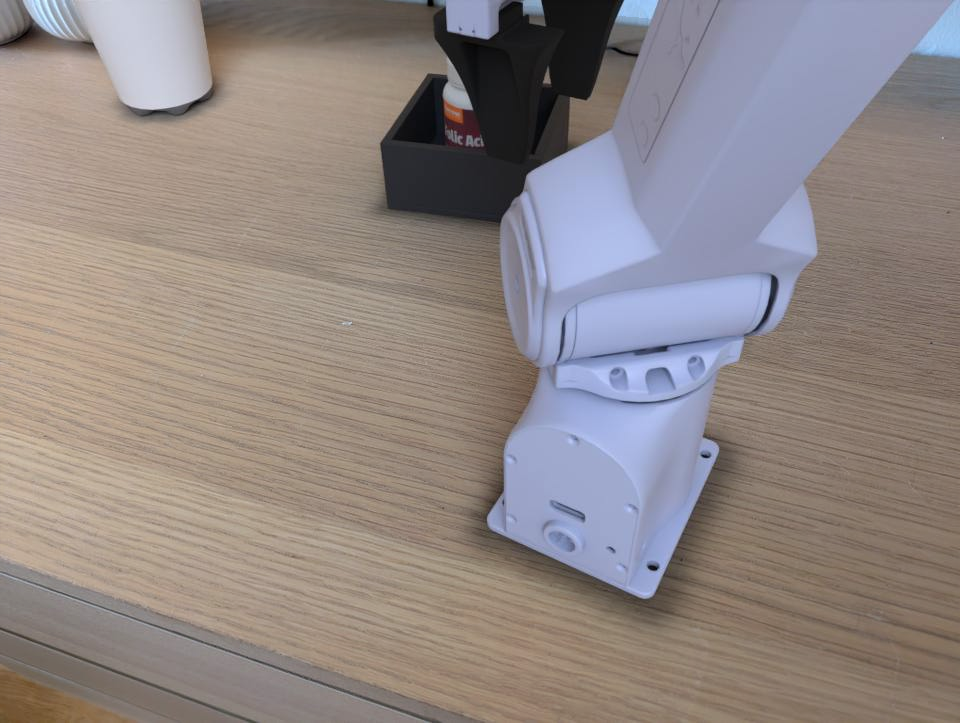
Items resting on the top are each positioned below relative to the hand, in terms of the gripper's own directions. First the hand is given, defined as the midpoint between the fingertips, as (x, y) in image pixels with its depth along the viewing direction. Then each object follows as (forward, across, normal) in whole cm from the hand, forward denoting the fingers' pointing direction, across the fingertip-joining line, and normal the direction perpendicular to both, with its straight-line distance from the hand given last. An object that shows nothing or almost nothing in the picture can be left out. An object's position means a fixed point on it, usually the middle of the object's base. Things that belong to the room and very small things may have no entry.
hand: (541, 124), depth 43 cm
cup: (+11, -8, -39) cm, 41 cm away
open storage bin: (+10, -9, -9) cm, 16 cm away
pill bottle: (+10, -9, -9) cm, 16 cm away
